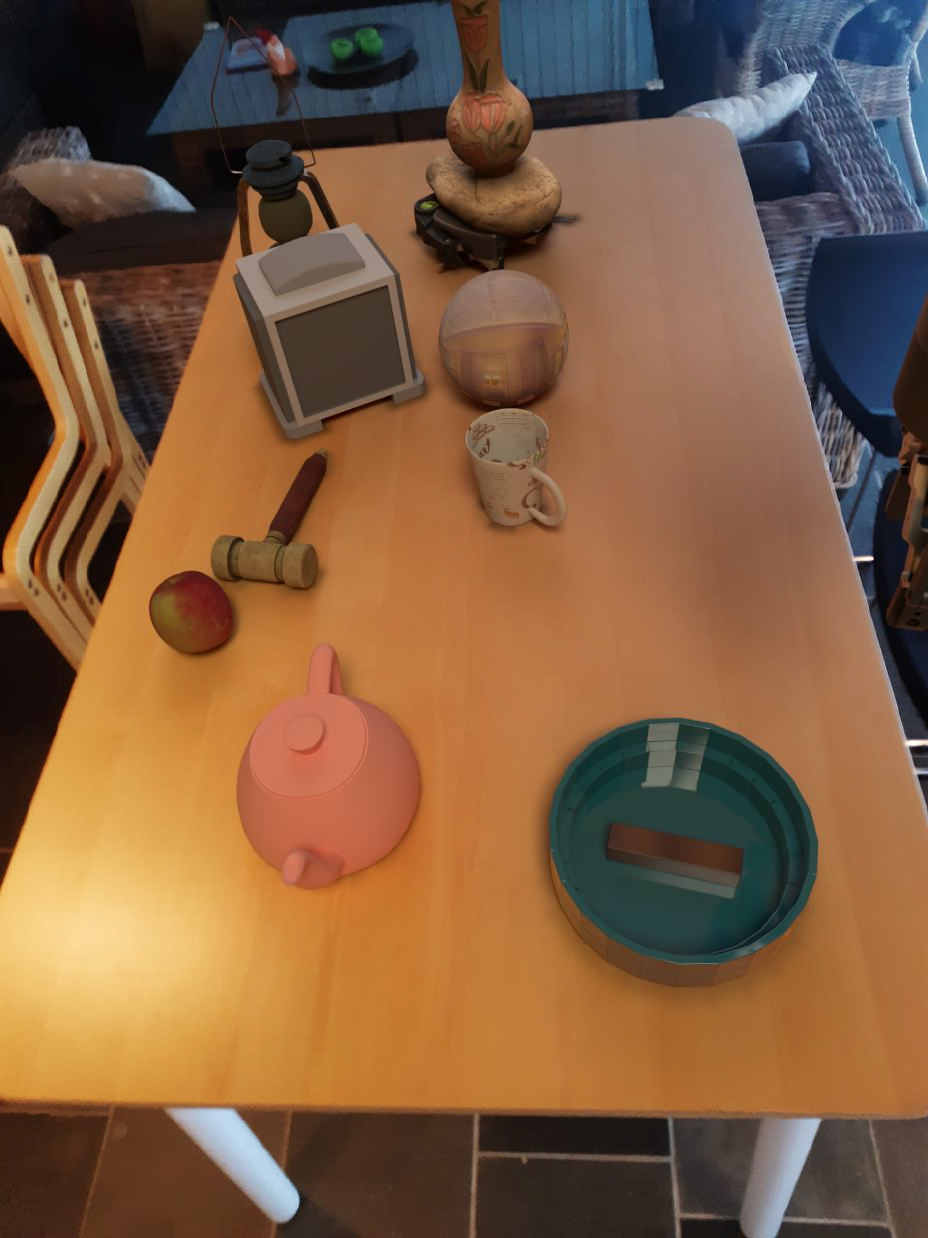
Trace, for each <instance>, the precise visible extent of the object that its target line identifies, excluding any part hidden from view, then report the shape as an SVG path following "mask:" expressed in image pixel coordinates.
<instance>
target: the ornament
mask: <svg viewBox="0 0 928 1238" xmlns="http://www.w3.org/2000/svg"><path fill="white" fill-rule="evenodd" d="M569 345H570V331H569V323H568V319H567V316H566V313H565V310H564V308H563V306H562V304H561V302H560V300H559V299H558V297H557V296H556V294H555V293H554V292H553V291H552V290H551V289H550V287H548V286H547V285H546V284H545V283H544V282H543V281H541V280H540V279H539V278H536V277H535V276H532V275H530V274H529V273H526V272H523V271H519V270H514V269H504V270H499V269H494V270H492V271H490V272H489V271H486V272H483V273H481V274H479V275H477V276H474V277H473V278H471V279H469V280H468V281H467V282H465V283H464V284H463V285H462V286H460V287H459V288H458V290H457V291H456V292H455V293H454V294H453V295H452V296H451V298H450V299H449V301H448V303H447V305H446V306H445V308H444V310H443V314H442V316H441V319H440V323H439V329H438V349H439V355H440V359H441V362H442V365H443V367H444V370H445V371H446V373H447V375H448V376H449V378H450V380H451V381H452V382H453V383H454V385H455V387H457V388H458V389H459V390H460V391H461V392H462V393H464V394H465V395H466V396H468V397H469V398H471V399H472V400H475V401H477V402H479V403H481V404H483V405H488V406H493V407H513V406H514V407H515V406H519V405H521V404H525V403H527V402H530V401H532V400H534V399H536V398H538V396H540V395H541V394H542V393H544V392H545V391H546V390H547V389H549V388H550V387H551V385H552V384H553V383H554V382H555V380H556V379H557V377H558V376H559V374H560V372H561V371H562V369H563V366H564V365H565V362H566V359H567V356H568V350H569Z"/></svg>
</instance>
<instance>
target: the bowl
mask: <svg viewBox="0 0 928 1238" xmlns="http://www.w3.org/2000/svg"><path fill="white" fill-rule="evenodd" d="M806 801H807V800H805V798H804V796H803V794H802V792H801V791H800V789H799V787H798V785H797V783H796V781H795V780H794V778H793V777H792V776H791V775H790V774H789V773H788V772H787V771H786V770H785V769H784V768H783V766H782V765H780V763H779V762H778V761H777V760H776V759H775V758H774V756H772V755H771V754H770V753H768V752H767V751H765V749H763V748H762V747H760V746H759V745H757V744H755V742H752V741H751V740H750V739H748V738H747V737H745V736H743V735H742V734H739V733H737V732H735V731H732V730H730V729H727V728H725V727H722V726H720V725H718V724H715V723H711V722H707V721H702V720H697V719H690V718H685V717H660V718H659V717H658V718H645V719H642V720H637V721H635V722H631V723H627V724H624V725H621V726H617V727H615V728H613V729H611V730H610V731H609V732H607V733H605V734H603V735H601V736H600V737H598V738H596V739H594V740H592V741H591V742H590V743H589V744H587V746H585V748H583V750H581V752H580V753H578V755H576V756H575V757H574V759H573V760H572V761H570V763H569V764H568V765H567V767H566V769H565V771H564V773H563V774H562V776H561V778H560V780H559V782H558V784H557V785H556V787H555V790H554V792H553V797H552V802H551V806H550V810H549V815H548V839H549V840H548V841H549V856H550V857H549V858H550V872H551V874H550V875H551V881H552V883H553V886H554V889H555V892H556V895H557V898H558V901H559V904H560V907H561V909H562V910H563V912H564V914H565V915H566V917H567V918H568V921H569V922H570V924H571V925H572V926H573V928H574V929H575V932H576V933H577V934H578V936H579V937H580V938H581V939H582V940H583V941H584V942H585V943H586V944H587V945H588V946H589V947H591V948H592V949H593V950H594V951H595V952H596V953H597V954H598V955H599V956H601V957H602V958H603V959H604V960H605V961H606V962H607V963H609V964H611V965H613V966H615V967H617V968H619V969H621V970H622V971H624V972H626V973H627V974H630V975H632V976H634V977H635V978H637V979H640V980H644V981H647V982H652V983H656V984H660V985H664V986H668V987H672V988H706V987H708V988H709V987H714V986H717V985H720V984H724V983H727V982H730V981H733V980H736V979H740V978H743V977H745V976H747V975H748V974H749V973H751V972H753V971H754V970H755V969H757V968H758V967H760V966H761V965H763V964H764V963H766V962H767V961H768V960H770V959H771V958H772V957H773V956H774V955H775V954H776V952H777V951H778V950H779V948H780V947H781V946H782V945H783V943H784V942H785V941H786V940H787V938H788V937H789V936H790V935H791V933H792V932H793V930H794V929H795V927H796V924H797V923H798V921H799V919H800V917H801V916H802V914H803V912H804V911H805V909H806V907H807V905H808V901H809V899H810V896H811V894H812V891H813V888H814V885H815V882H816V879H817V878H818V877H817V876H818V863H819V838H818V835H817V831H816V826H815V822H814V819H813V815H812V810H811V809H810V807H809V805H808V803H807V802H806ZM612 822H615V823H620V824H624V825H629V826H634V827H639V828H644V829H649V830H654V831H659V832H664V833H669V834H673V835H678V836H683V837H688V838H693V839H698V840H703V841H708V842H713V843H717V844H722V845H727V846H732V847H737V848H742V849H744V855H743V866H742V876H741V878H740V881H739V884H738V886H737V887H732V886H728V885H723V884H718V883H714V882H709V881H704V880H700V879H695V878H690V877H686V876H681V875H677V874H672V873H667V872H663V871H658V870H653V869H649V868H644V867H639V866H635V865H630V864H625V863H621V862H616V861H611V860H607V859H606V857H607V845H608V839H609V834H610V829H611V823H612Z"/></svg>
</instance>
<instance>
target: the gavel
mask: <svg viewBox="0 0 928 1238" xmlns="http://www.w3.org/2000/svg"><path fill="white" fill-rule="evenodd" d="M317 450H318V451H315V452H314V453H313V454H312V455H310V456H309V457H308V458H306V459H305V460H304V462H303V464H302V465H301V467H300V468H299V471H298V473H297V474H296V476H295V478H294V480H293V482H292V484H291V485H290V487H289V490H288V491H287V493H286V495H285V497H284V499H283V500H282V502H281V504H280V505H279V508H278V510H276V513H275V515H274V517H273V518H272V520H271V523H270V524H269V527H268V531H267V534H266V536H265V537H264V539H263V541H257V540H245V539H244V538H243V537H242V536H236V535H227V534H221V535H219V536H218V537H217V538H216V540H215V541H214V543H213V544H212V547H211V552H210V567H211V570H212V573H213V575H214V576H215V578H217V579H219V580H228V581H238V580H240V579H241V578H243V579H246V580H253V581H254V580H255V581H264V582H272V583H284V584H285V585H286V586H287V587H289V588H298V589H308V588H311V586H312V584H313V583H314V581H315V579H316V576H317V573H318V572H317V571H318V554H317V551H316V548H315V547H314V545H313V544H311V543H304V542H298V541H297V542H294V541H293V542H290V543H289V544H288V545H286V544H287V542H288V541H289V540H290V539H291V538H292V536H293V534H294V532H295V530H296V528H297V527H298V525H299V523H300V521H301V519H302V518H303V515H304V513H305V511H306V509H307V507H308V506H309V503H310V502H311V500H312V498H313V496H314V494H315V492H316V490H317V488H318V486H319V484H320V483H321V480H322V479H323V476H324V474H325V473H326V461H327V457H326V456H327V454H328V453H327V452H328V451H327V449H326V448H325V447H320V448H319V449H317Z"/></svg>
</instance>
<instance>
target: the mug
mask: <svg viewBox="0 0 928 1238" xmlns="http://www.w3.org/2000/svg"><path fill="white" fill-rule="evenodd" d="M549 432H550V431H549V429H548V426H547V424H546V422H545V420H543V418H542V417H540V416H538V414H535V413H534V412H531V411H529V410H525V409H522V408H500V409H495V410H492V411H489V412H487V413H484V414H483V415H481V416H479V417H477V418H476V419H475V420H474V421H473V422H472V423H471V424H470V425H469V427H468V428H467V431H466V432H465V433H466V434H465V438H464V440H465V441H464V442H465V447H466V451H467V455H468V458H469V462H470V465H471V468H472V472H473V475H474V478H475V482H476V485H477V488H478V491H479V495H480V498H481V501H482V506H483V508H484V511H485V513H486V515H487V517H488V518H489V519H490V520H491V521H492V522H494V523H496V524H499V525H500V526H506V527H515V526H520V525H524V524H526V523H528V522H530V521H531V520H533V519H534V518H535V519H536V520H537V521H539V522H540V523H542V524H543V525H546V526H552V527H553V526H559V525H561V524H562V523H564V522H565V520H566V518H567V515H568V508H567V503H566V500H565V499H566V498H565V497H564V495H563V493H562V491H561V489H560V487H559V486H558V485H557V483H556V481H554V480H553V478H551V477H550V475H548V474H546V468H547V467H546V466H547V459H548V451H549V442H550V433H549ZM544 487H545V488H547V490H548V491H549V493H550V494H551V496H552V498H553V501H554V503H555V507H556V511H555V513H554V514H553V515H550V516H548V515H545V514H543V513H542V511H540V509H541V503H542V498H543V497H542V496H543V489H544Z"/></svg>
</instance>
